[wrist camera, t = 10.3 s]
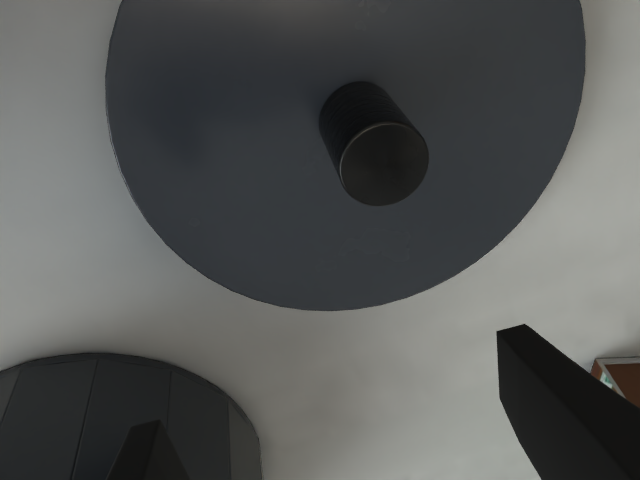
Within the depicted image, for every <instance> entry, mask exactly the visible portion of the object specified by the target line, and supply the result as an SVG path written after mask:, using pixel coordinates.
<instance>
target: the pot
mask: <svg viewBox="0 0 640 480" xmlns="http://www.w3.org/2000/svg"><path fill="white" fill-rule="evenodd" d="M158 419H160V420H161V422H162V424H163V426H164V428H165V430H166V432H167V434H168V436H169V438H170V440H171V442H172V444H173V446H174V448H175V450H176V452H177V454H178V456H179V458H180V460H181V462H182V464H183V466H184V468H185V470H186V472H187V473H188V475H189V477H190V479H191V480H264V479H263V470H262V462H261V453H260V446H259V439H258V437H257V435H256V433H255V431H254V429H253V426H252V424H251V422H250V421H249V419H248V418H247V416H246V415H245V413H244V412H243V411H242V409H241V408H240V407H239V406H238V405H237V404H236V403H235V402H234V401H233V400H232V399H231V398H230V397H229V396H228V395H226V394H225V393H224V392H222V391H221V390H220V389H219V388H217V387H216V386H214V385H213V384H211V383H209V382H208V381H206V380H204V379H203V378H201V377H199V376H197V375H195V374H192V373H190V372H188V371H186V370H183V369H181V368H178V367H175V366H172V365H169V364H166V363H163V362H160V361H155V360H150V359H145V358H141V357H136V356H127V355H118V354H89V353H87V354H74V355H62V356H57V357H51V358H45V359H40V360H36V361H32V362H29V363H25V364H22V365H18V366H15V367H12V368H10V369H7V370H5V371H2V372H0V480H106V478H107V476H108V473H109V471H110V469H111V467H112V465H113V463H114V461H115V458H116V456H117V454H118V452H119V450H120V448H121V445H122V443H123V441H124V439H125V437H126V435H127V432H128V431H129V429H130V428H131V426H135V425H139V424H143V423H147V422H151V421H154V420H158Z"/></svg>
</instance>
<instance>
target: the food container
mask: <svg viewBox="0 0 640 480" xmlns="http://www.w3.org/2000/svg"><path fill="white" fill-rule="evenodd" d="M590 374H591V375H593V376H594V377H595V378H597V379H598V380H600V381H601V382H603V383H604V384H605V385H607V386H608V387H610V388H611V389H613V390H614V391H615V392H617V393H618V394H620V395H621V396H623V397H624V398H626V399H627V400H629V401H630V402H632V403H633V404H635V405H636V406H638V407H639V408H640V357H635V358H608V359H595V361H594V364H593V367H592V370H591V373H590Z"/></svg>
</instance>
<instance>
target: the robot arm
mask: <svg viewBox="0 0 640 480" xmlns="http://www.w3.org/2000/svg"><path fill="white" fill-rule="evenodd" d="M497 352H498V373H499V394H500V400H501V402H502V405H503V407H504V409H505V412H506V414H507V416H508V418H509V421H510V423H511V425H512V427H513V429H514V431H515V434H516V436H517V438H518V440H519V442H520V444H521V446H522V447H523V449H524V451H525V452H526V454H527V456H528V458H529V459H530V461H531V463H532V464H533V466H534V468H535V469H536V471H537V473H538V474H539V476H540V478H541V479H542V480H640V408H639V407H638V406H636V405H635V404H633V403H632V402H630V401H629V400H627V399H626V398H624V397H623V396H621V395H620V394H618V393H617V392H615V391H614V390H613V389H611V388H610V387H608V386H607V385H605V384H604V383H603V382H601V381H600V380H598V379H597V378H595V377H594V376H593V375H591V374H590V373H588V372H587V371H586V370H584V369H583V368H582V367H580V366H579V365H578V364H576V363H575V362H574V361H572V360H571V359H570V358H568V357H567V356H566V355H564V354H563V353H562V352H561V351H559V350H558V349H557V348H555V347H554V346H553V345H552V344H550V343H549V342H548V341H547V340H545V339H544V338H543V337H541V336H540V335H539V334H538V333H536V332H535V331H534V330H533V329H531V328H530V327H529V326H527V325H525V324H523V325H519V326H515V327H511V328H507V329H504V330H500V331H497ZM106 480H191V479H190V477H189V475H188V473H187V472H186V470H185V468H184V466H183V464H182V462H181V460H180V458H179V456H178V454H177V452H176V450H175V448H174V446H173V444H172V442H171V440H170V438H169V436H168V434H167V432H166V430H165V428H164V426H163V424H162V422H161V420H160V419H158V420H154V421H151V422H147V423H143V424H139V425H135V426H131V428H130V429H129V431H128V432H127V435H126V437H125V439H124V441H123V443H122V445H121V448H120V450H119V452H118V454H117V456H116V458H115V461H114V463H113V465H112V467H111V469H110V471H109V473H108V476H107V478H106Z"/></svg>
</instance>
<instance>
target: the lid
mask: <svg viewBox="0 0 640 480" xmlns="http://www.w3.org/2000/svg"><path fill="white" fill-rule="evenodd" d="M585 46H586V40H585V31H584V23H583V14H582V8H581V4H580V0H122V2H121V4H120V6H119V10H118V13H117V17H116V21H115V24H114V28H113V32H112V35H111V39H110V43H109V51H108V59H107V67H106V75H105V89H106V114H107V121H108V127H109V133H110V140H111V144H112V147H113V150H114V154H115V157H116V160H117V164H118V167H119V170H120V173H121V175H122V177H123V179H124V181H125V184H126V186H127V188H128V190H129V192H130V194H131V197H132V199H133V200H134V202H135V203H136V205H137V206H138V208H139V210H140V211H141V213H142V214H143V216H144V217H145V219H146V221H147V222H148V223H149V225H150V226H151V227H152V228H153V229H154V231H155V232H156V233H157V234H158V235H159V236H160V238H161V239H162V240H163V241H164V242H165V244H166V245H167V246H169V247H170V248H171V249H172V250H173V251H174V252H175V253H176V254H177V255H178V256H179V257H181V258H182V259H183V260H184V261H185V262H186V263H187V264H189V265H190V266H192V267H193V268H194V269H196V270H197V271H199V272H200V273H202V274H203V275H204V276H206V277H207V278H209V279H211V280H212V281H214V282H216V283H218V284H220V285H222V286H224V287H226V288H227V289H229V290H231V291H234V292H236V293H239V294H241V295H244V296H246V297H249V298H252V299H254V300H257V301H261V302H265V303H269V304H273V305H276V306H280V307H287V308H294V309H301V310H313V311H340V310H354V309H361V308H367V307H373V306H378V305H383V304H387V303H390V302H394V301H397V300H401V299H404V298H407V297H410V296H413V295H415V294H418V293H420V292H423V291H425V290H428V289H430V288H432V287H434V286H436V285H438V284H440V283H442V282H444V281H446V280H448V279H450V278H452V277H453V276H455V275H457V274H458V273H460V272H461V271H463V270H464V269H466V268H467V267H469V266H470V265H472V264H474V263H475V262H477V261H478V260H479V259H480V258H482V257H483V256H484V255H485V254H487V253H488V252H489V251H490V250H492V249H493V248H494V247H495V246H497V245H498V244H499V243H500V242H501V241H502V240H503V239H504V238H505V237H506V236H507V235H508V234H509V233H510V232H511V231H512V230H513V229H514V228H515V227H516V226H517V225H518V224H519V222H520V221H521V220H522V219H523V218H524V216H525V215H526V214H527V213H528V212H529V210H530V209H531V208H532V207H533V206H534V204H535V203H536V201H537V200H538V198H539V197H540V195H541V194H542V192H543V191H544V189H545V188H546V186H547V185H548V183H549V182H550V180H551V178H552V176H553V174H554V172H555V170H556V169H557V167H558V165H559V163H560V161H561V159H562V157H563V155H564V152H565V150H566V147H567V145H568V142H569V139H570V137H571V134H572V132H573V129H574V125H575V122H576V118H577V114H578V110H579V106H580V103H581V97H582V90H583V83H584V76H585Z"/></svg>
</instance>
